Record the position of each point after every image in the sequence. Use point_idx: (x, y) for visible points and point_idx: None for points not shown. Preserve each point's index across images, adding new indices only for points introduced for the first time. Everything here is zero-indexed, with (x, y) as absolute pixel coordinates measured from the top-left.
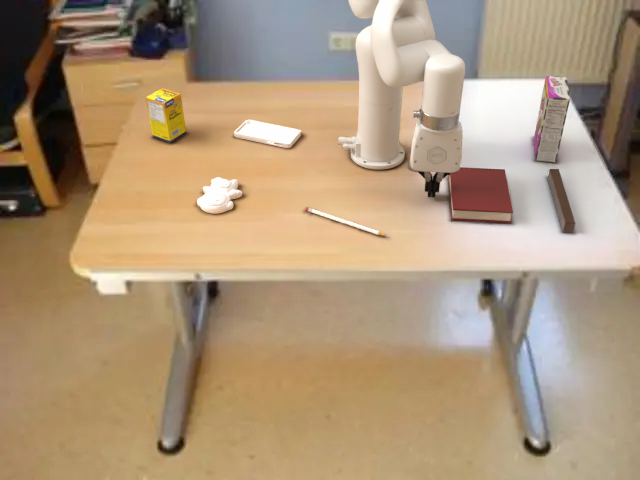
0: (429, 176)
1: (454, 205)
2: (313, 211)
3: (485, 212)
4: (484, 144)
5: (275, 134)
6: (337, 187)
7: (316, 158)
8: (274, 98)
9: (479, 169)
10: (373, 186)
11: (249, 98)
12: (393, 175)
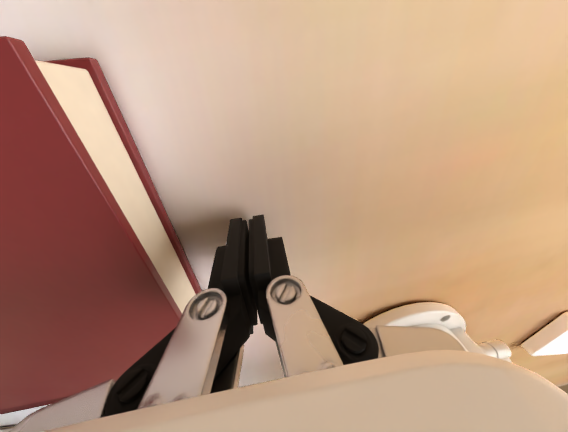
0: (278, 314)
1: (28, 99)
2: None
3: None
4: None
5: (565, 334)
6: (545, 210)
7: (529, 300)
8: None
9: None
10: (437, 240)
11: (545, 378)
12: (369, 296)
